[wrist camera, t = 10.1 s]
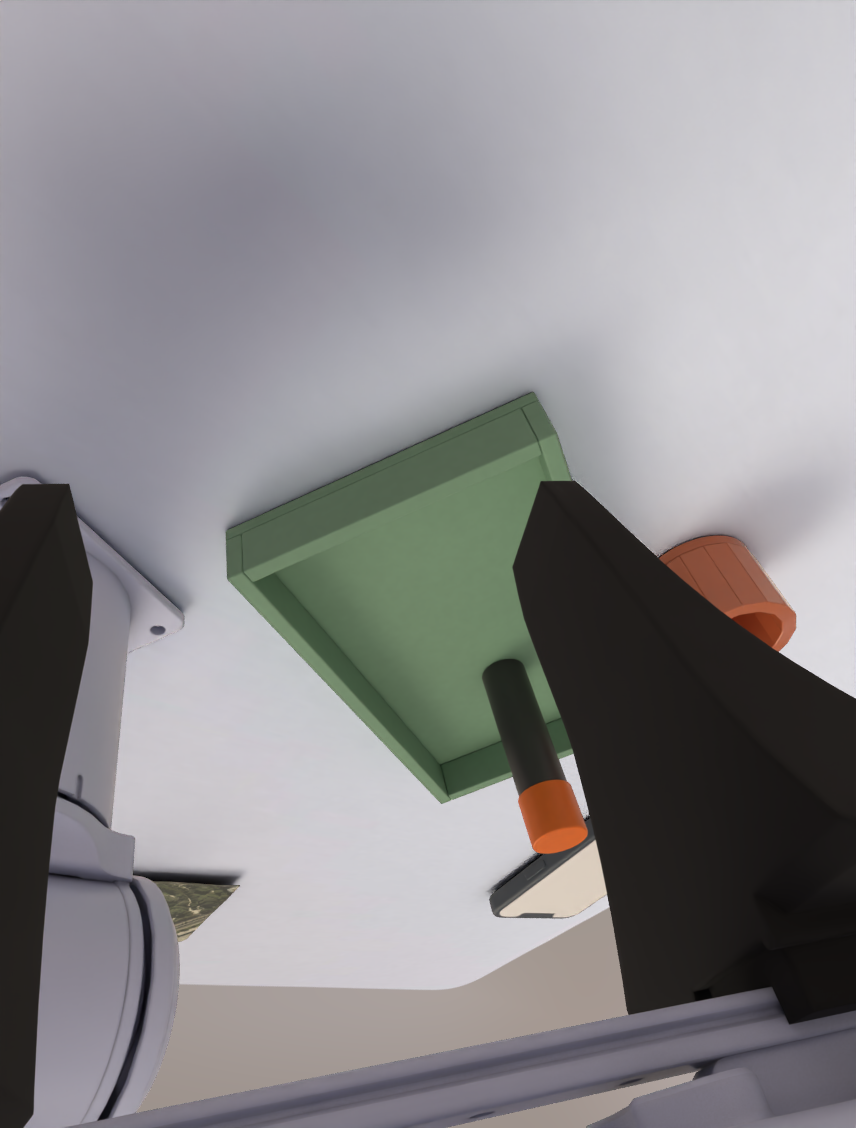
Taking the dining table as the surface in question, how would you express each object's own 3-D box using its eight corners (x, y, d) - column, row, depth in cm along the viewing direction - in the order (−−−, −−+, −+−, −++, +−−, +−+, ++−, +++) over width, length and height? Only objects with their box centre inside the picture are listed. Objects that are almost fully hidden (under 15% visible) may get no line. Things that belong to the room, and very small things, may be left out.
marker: (487, 692, 34) (540, 859, 29) (472, 669, 33) (526, 841, 27) (531, 674, 34) (593, 840, 29) (518, 650, 33) (581, 821, 27)
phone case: (624, 782, 46) (479, 896, 54) (635, 805, 45) (485, 919, 53) (711, 795, 51) (565, 899, 59) (723, 817, 50) (572, 920, 58)
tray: (431, 764, 39) (441, 804, 38) (224, 530, 25) (225, 579, 23) (631, 686, 38) (650, 724, 36) (533, 390, 23) (557, 432, 22)
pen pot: (643, 632, 34) (679, 699, 32) (625, 566, 31) (663, 636, 28) (751, 589, 34) (796, 654, 31) (746, 516, 30) (797, 584, 27)
